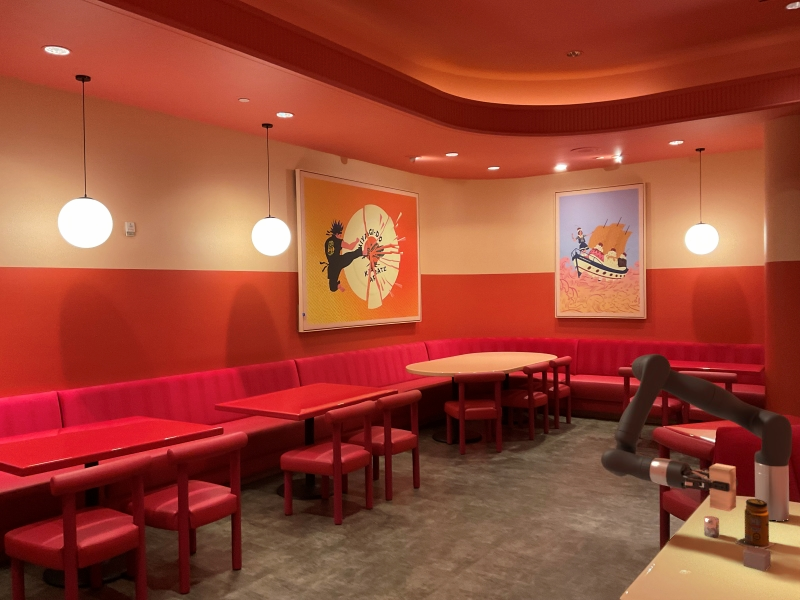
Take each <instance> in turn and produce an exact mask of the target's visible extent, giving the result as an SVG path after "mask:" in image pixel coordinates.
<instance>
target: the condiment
mask: <svg viewBox="0 0 800 600" xmlns="http://www.w3.org/2000/svg"><path fill="white" fill-rule="evenodd" d="M745 504H746V505H745V509H744V537H743V538H740V539H737V540H735V541H734V543H736V544H738V545H741V546H744V547H745V548H748V547H749V546H753V547H757V548H761V549H765V550H766V548H770V547H772V546H774V545H776V542H771V541H770V526H769V525H770V524H769V523H770V521H769V513H768V511H767V503H766V502H765V501H763V500H759V499H755V498H748V499H746V501H745Z"/></svg>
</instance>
